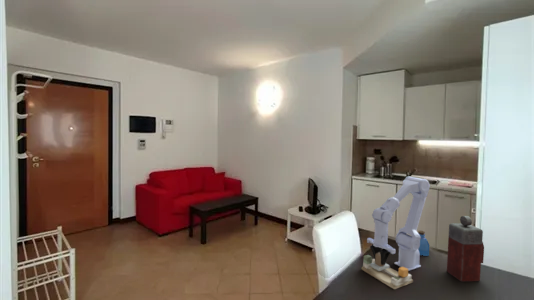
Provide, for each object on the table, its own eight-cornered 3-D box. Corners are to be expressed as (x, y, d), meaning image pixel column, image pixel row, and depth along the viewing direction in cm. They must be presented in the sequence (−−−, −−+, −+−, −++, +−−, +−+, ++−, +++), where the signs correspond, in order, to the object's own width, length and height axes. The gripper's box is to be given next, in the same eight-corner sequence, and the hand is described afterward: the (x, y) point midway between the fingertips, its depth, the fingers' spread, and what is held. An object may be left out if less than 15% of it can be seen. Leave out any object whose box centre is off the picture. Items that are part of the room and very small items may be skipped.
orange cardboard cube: (402, 273, 117) (403, 266, 116) (407, 275, 114) (408, 269, 114) (398, 274, 115) (398, 268, 115) (403, 277, 113) (403, 270, 113)
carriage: (380, 263, 128) (381, 250, 128) (389, 267, 124) (390, 254, 123) (370, 266, 125) (370, 253, 125) (379, 271, 121) (379, 257, 120)
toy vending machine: (485, 280, 118) (488, 219, 116) (461, 281, 117) (464, 219, 115) (468, 270, 127) (472, 213, 125) (446, 271, 126) (449, 213, 124)
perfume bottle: (428, 256, 142) (429, 234, 141) (416, 254, 143) (417, 233, 142) (424, 251, 148) (425, 230, 147) (412, 250, 149) (413, 229, 148)
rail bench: (379, 264, 132) (379, 251, 132) (412, 282, 116) (413, 268, 116) (361, 269, 127) (361, 256, 127) (394, 289, 111) (394, 274, 110)
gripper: (362, 230, 128) (362, 257, 129) (388, 241, 115) (387, 271, 116) (373, 228, 131) (372, 254, 132) (399, 238, 118) (398, 268, 119)
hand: (380, 262), depth 124 cm, fingers closed on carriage, 3 cm apart
